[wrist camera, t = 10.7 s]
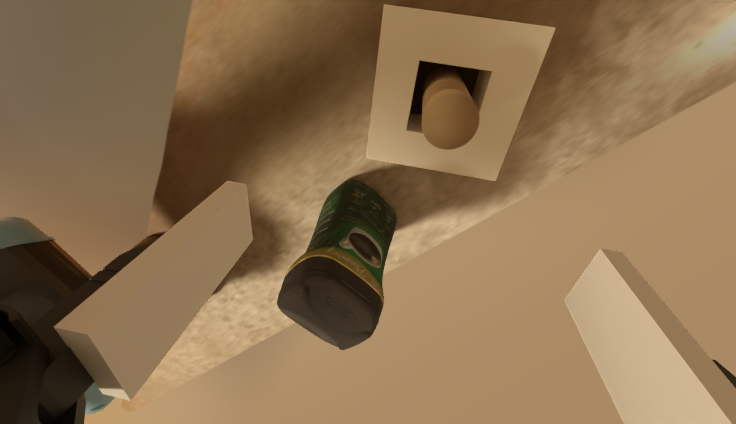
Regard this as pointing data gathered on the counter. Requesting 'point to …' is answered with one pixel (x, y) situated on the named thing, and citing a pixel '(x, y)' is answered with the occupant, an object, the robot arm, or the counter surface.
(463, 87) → the dowel
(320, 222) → the coffee jar
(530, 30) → the socket block
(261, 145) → the counter surface
